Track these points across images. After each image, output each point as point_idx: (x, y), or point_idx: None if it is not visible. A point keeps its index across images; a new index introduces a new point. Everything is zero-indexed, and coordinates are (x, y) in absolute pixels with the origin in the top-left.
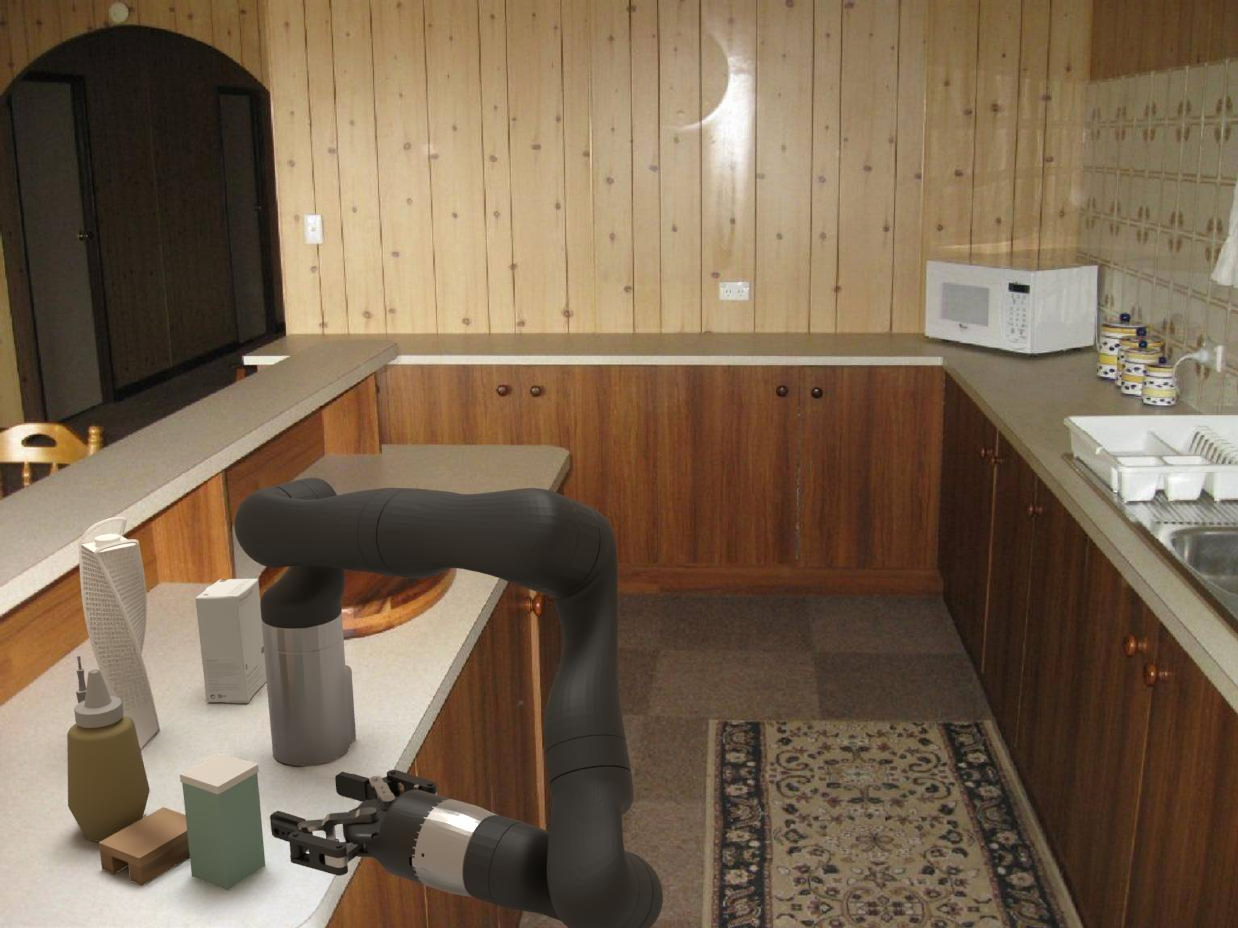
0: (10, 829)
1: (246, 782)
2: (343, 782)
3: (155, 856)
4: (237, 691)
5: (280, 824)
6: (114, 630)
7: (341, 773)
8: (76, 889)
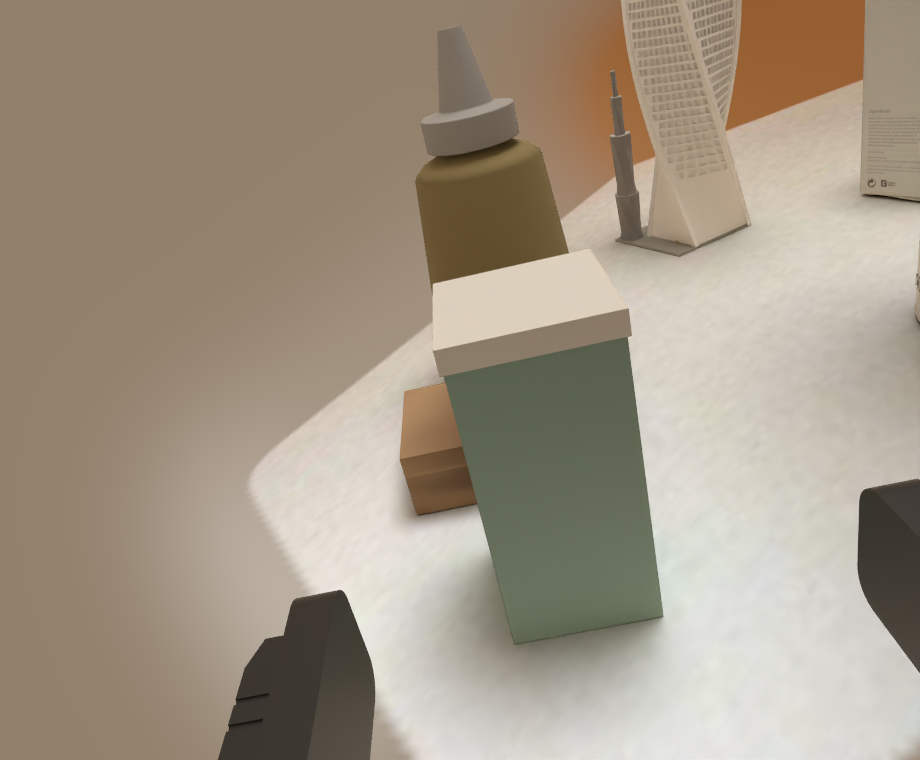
0: (429, 324)
1: (574, 362)
2: (899, 560)
3: (446, 466)
4: (917, 176)
5: (242, 712)
6: (660, 16)
7: (904, 495)
8: (350, 465)
